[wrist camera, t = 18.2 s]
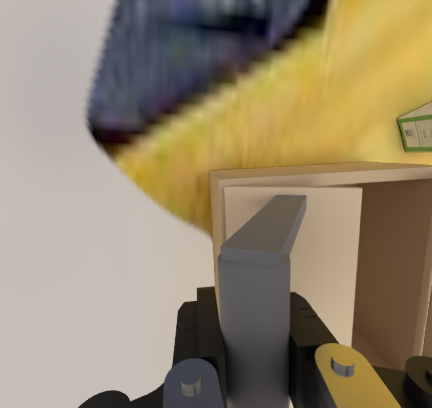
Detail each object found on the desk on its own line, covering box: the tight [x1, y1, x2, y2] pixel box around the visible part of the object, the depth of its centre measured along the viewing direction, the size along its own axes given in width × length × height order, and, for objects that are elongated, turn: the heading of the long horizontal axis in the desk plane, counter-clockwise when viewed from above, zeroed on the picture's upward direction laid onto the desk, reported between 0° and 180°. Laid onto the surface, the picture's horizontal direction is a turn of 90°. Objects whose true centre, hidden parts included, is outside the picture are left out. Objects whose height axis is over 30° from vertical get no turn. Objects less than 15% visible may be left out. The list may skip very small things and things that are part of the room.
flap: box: [217, 186, 362, 408], centre depth 12 cm, size 18×7×9 cm, turn 3°
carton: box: [209, 162, 432, 371], centre depth 23 cm, size 19×16×9 cm
